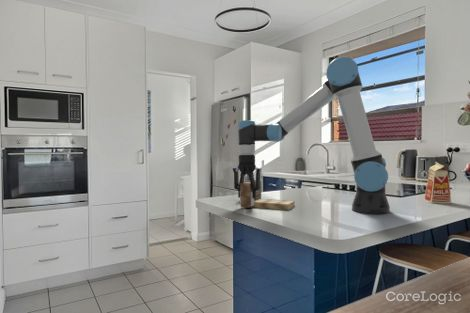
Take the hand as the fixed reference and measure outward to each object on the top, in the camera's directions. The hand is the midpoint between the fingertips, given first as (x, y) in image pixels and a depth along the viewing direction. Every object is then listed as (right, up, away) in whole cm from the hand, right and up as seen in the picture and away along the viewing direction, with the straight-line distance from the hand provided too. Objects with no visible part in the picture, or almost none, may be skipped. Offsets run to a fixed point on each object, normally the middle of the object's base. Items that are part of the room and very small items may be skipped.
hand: (247, 204), depth 148 cm
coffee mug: (+3, -1, +22) cm, 22 cm away
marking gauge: (+2, -1, +5) cm, 6 cm away
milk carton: (+96, -1, +13) cm, 96 cm away
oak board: (+10, -1, +4) cm, 11 cm away
